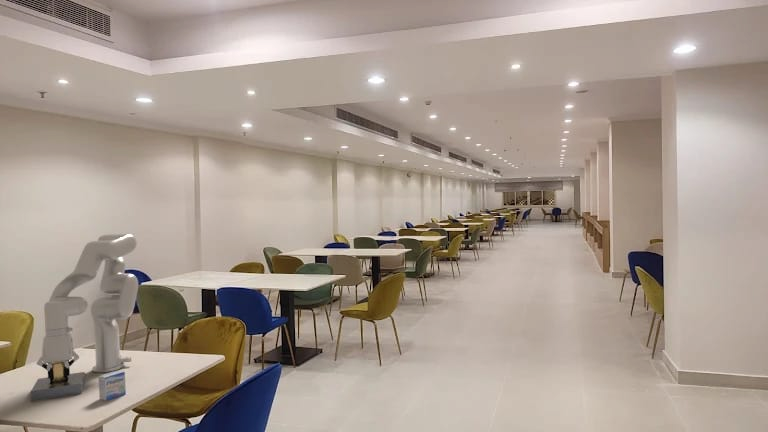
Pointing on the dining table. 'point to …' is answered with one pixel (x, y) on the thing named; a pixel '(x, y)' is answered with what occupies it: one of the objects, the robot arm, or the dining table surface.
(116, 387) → the medicine box
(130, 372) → the dining table surface
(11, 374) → the dining table surface
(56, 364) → the brass peg
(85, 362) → the dining table surface
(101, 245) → the robot arm
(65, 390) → the socket block
